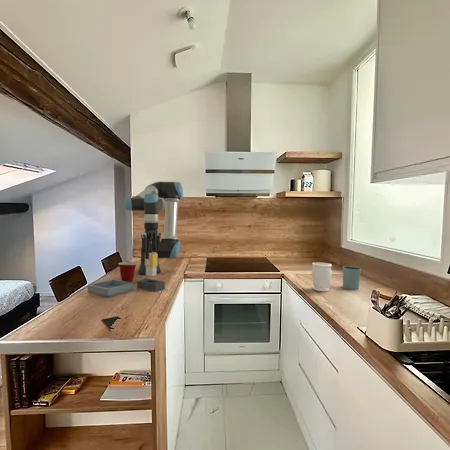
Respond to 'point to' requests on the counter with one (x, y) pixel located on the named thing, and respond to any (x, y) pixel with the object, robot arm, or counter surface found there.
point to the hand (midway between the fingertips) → (151, 264)
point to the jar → (321, 276)
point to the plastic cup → (127, 271)
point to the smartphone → (110, 321)
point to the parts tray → (110, 288)
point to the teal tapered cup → (351, 277)
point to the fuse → (152, 265)
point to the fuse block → (151, 285)
